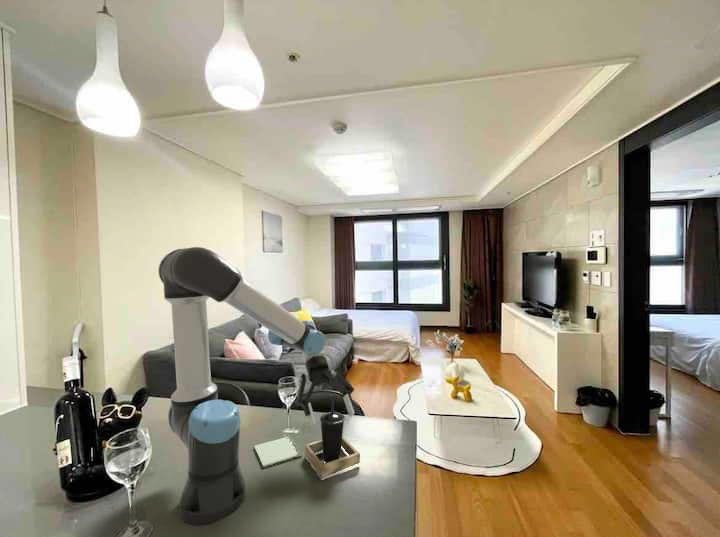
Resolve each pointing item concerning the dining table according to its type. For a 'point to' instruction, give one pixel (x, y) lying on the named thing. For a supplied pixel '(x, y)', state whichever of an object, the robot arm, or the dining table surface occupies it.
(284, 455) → the sage mat
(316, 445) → the oak crate frame
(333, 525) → the dining table surface
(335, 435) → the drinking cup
